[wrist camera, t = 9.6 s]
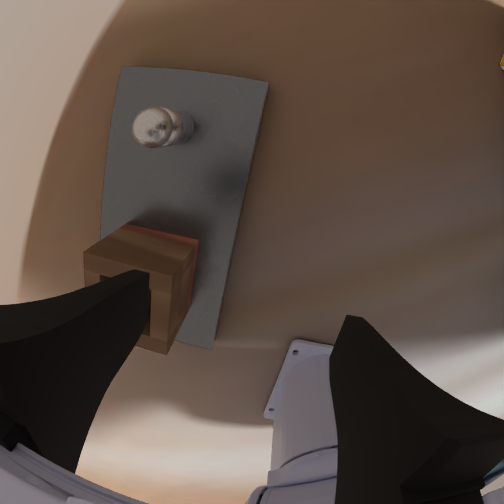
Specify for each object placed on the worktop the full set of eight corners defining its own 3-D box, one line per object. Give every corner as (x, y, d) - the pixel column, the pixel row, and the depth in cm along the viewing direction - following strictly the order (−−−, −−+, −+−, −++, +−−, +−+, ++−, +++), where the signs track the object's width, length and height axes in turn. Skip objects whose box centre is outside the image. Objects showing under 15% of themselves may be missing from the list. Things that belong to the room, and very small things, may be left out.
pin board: (214, 340, 23) (197, 395, 17) (108, 308, 23) (72, 351, 18) (269, 85, 16) (264, 63, 11) (130, 69, 16) (79, 53, 11)
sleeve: (189, 308, 21) (166, 355, 16) (123, 290, 21) (89, 329, 16) (198, 240, 19) (172, 276, 14) (125, 223, 19) (83, 252, 14)
